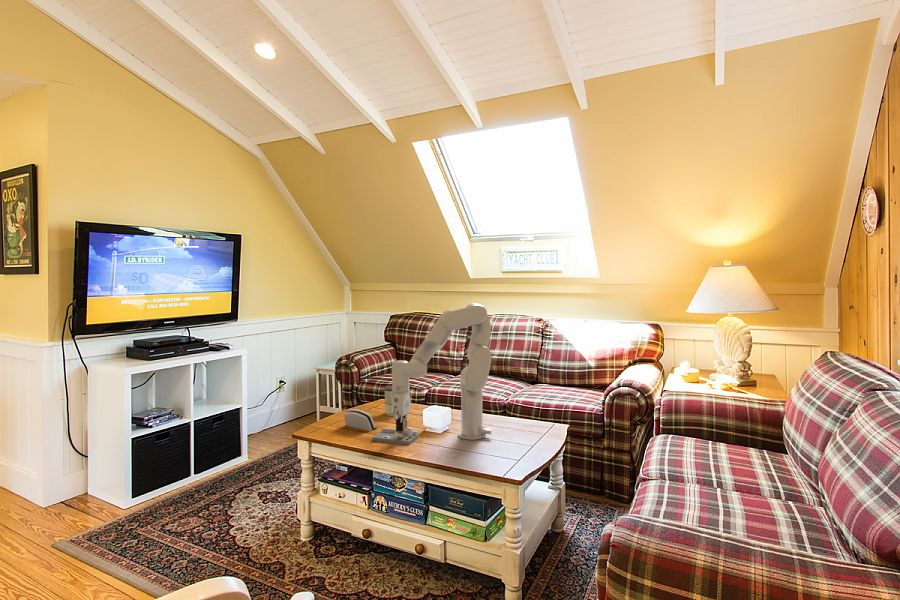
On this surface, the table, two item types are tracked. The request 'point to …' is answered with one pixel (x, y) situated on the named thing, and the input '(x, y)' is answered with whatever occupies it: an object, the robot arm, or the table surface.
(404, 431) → the trammel slider
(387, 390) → the coffee can
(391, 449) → the table surface
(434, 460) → the table surface
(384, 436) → the gauge board
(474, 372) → the robot arm
